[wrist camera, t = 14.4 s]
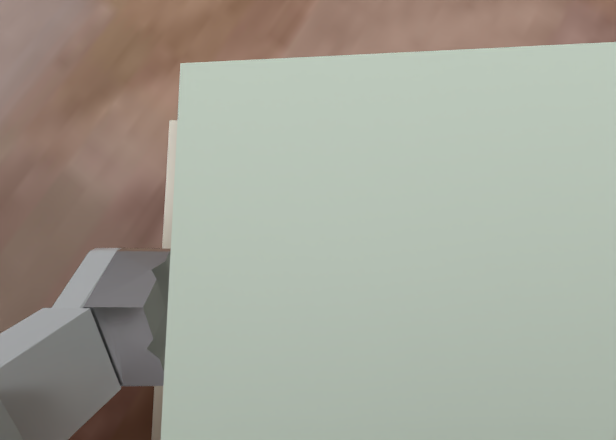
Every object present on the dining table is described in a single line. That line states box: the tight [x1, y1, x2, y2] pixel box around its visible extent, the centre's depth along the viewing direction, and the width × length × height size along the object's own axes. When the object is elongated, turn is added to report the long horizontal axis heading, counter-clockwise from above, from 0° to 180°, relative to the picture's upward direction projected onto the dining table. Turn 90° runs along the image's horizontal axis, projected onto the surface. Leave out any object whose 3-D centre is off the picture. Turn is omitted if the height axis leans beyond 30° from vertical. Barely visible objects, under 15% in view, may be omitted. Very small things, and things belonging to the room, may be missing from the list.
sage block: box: [161, 42, 616, 440], centre depth 12 cm, size 5×5×13 cm
